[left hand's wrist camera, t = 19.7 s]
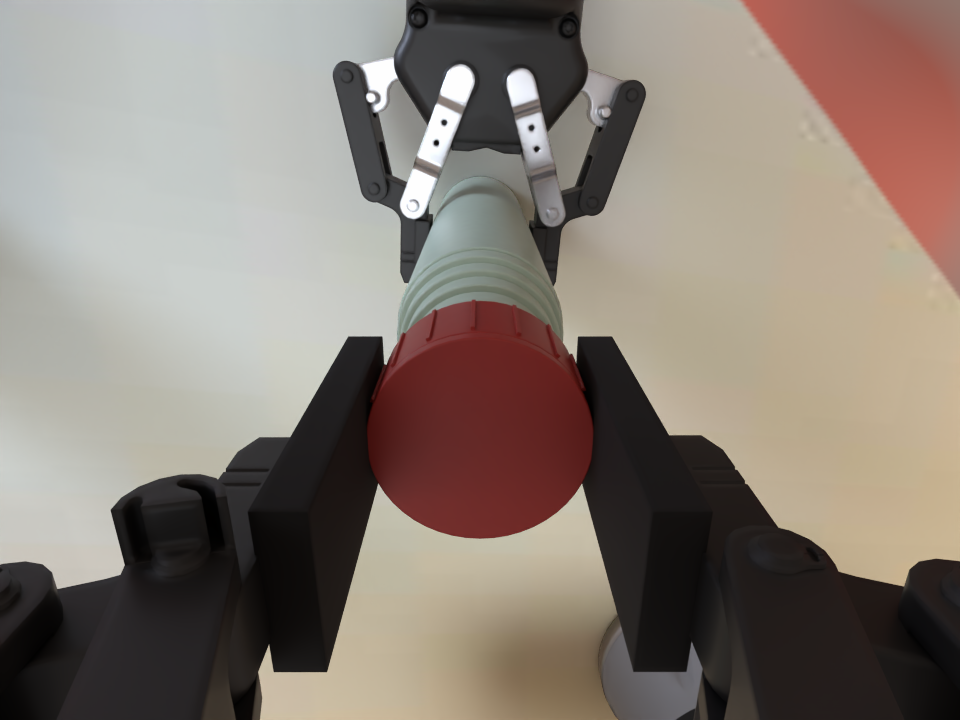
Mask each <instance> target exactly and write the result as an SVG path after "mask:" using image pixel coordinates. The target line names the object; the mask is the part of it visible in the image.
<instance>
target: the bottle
mask: <svg viewBox="0 0 960 720" xmlns="http://www.w3.org/2000/svg"><path fill="white" fill-rule="evenodd" d="M472 300H476V301H492V302H498V303H504V304H508V305H511V306H512V305H516V306H517V308H520V309H522V310H524V311H526V312H528V313H530V314H532V315H534V316H535V317H537V318H538V319H540V320H541V321H543V322H544V323H545V324H546V325H547V324H549V325H551V328H552V330H553V331H554V332H555V334H556V335H557V336H558V337H559V338H560V339H561V341H562V342H563V321H562V311H561V307H560V303H559V300H558V297H557V295H556V292H555V290H554V287H553V285H552V283H551V280H550V278H549V275H548V273H547V270H546V268H545V266H544V263H543V261H542V258H541V256H540V253H539V251H538V248H537V246H536V244H535V241H534V239H533V236H532V234H531V231H530V229H529V227H528V224H527V222H526V219H525V217H524V214H523V212H522V209H521V207H520V205H519V202H518V200H517V198H516V196H515V195H514V193H513V192H512V191H511V190H510V189H509V188H508V187H507V186H506V185H505V184H503V183H502V182H500V181H498V180H496V179H493V178H489V177H471V178H468V179H465V180H463V181H461V182H459V183H457V184H456V185H455V186H453V187H452V188H451V189H450V190H449V191H448V193H447V194H446V195H445V197H444V199H443V201H442V203H441V205H440V208H439V210H438V213H437V215H436V218H435V220H434V222H433V225H432V227H431V230H430V232H429V235H428V237H427V240H426V242H425V244H424V247H423V249H422V252H421V254H420V257H419V259H418V261H417V264H416V266H415V269H414V271H413V274H412V276H411V278H410V281H409V283H408V286H407V288H406V291H405V293H404V296H403V298H402V301H401V304H400V309H399V313H398V328H397V340H398V342H399V339H400V336H401V334H402V333H403V332H404V333H406V332H407V331H408V330H409V329H410V328H411V327H412V326H413V325H414V324H415V323H417V322H418V321H419V320H421V319H422V318H424V317H425V316H427V315H428V314H430V313H432V310H434V309H436V310H438V309H441V308H443V307H446V306H449V305H453V304H457V303H462V302H468V301H472Z"/></svg>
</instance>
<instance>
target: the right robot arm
mask: <svg viewBox="0 0 960 720" xmlns="http://www.w3.org/2000/svg"><path fill="white" fill-rule="evenodd" d="M582 10H583V0H407V3H406V26H405V30H404V33H403V36H402V39H401V41H400V43H399V44H398V46H397V48H396V51H395V54H394V57H389V58H384V59H379V60H375V61H370V62H365V63H360V64H355V63H353V62H350V61H342V62H340V63H338V64H337V65H336V66H335V68H334V71H333V80H334V84H335V88H336V92H337V96H338V100H339V104H340V108H341V112H342V116H343V120H344V124H345V128H346V132H347V136H348V140H349V144H350V148H351V152H352V156H353V160H354V164H355V168H356V172H357V176H358V180H359V184H360V188H361V192H362V194H363V196H364V197H365V198H366V199H367V200H368V201H370V202H378V203H380V204H383V205H385V206H387V207H390V208H391V209H393V210H394V211H395V212H396V213H397V214H398V215H399V217H400V221H401V263H400V273H401V275H402V278H403V281H404V283H409V281H410V278H411V276H412V274H413V271H414V269H415V266H416V264H417V261H418V259H419V257H420V254H421V252H422V249H423V247H424V244H425V242H426V240H427V237H428V235H429V232H430V230H431V227H432V225H433V214H429V203H430V200H431V197H432V195H433V192H434V190H435V187H436V185H437V182H438V180H439V177H440V175H441V172H442V170H443V167H444V165H445V162H446V160H447V157H448V155H449V152H450V150H451V148H452V150H456V151H472V150H477V149H481V148H490V149H493V150H496V151H498V152H501V153H506V154H521V157H522V161H523V165H524V169H525V172H526V175H527V179H528V182H529V186H530V190H531V194H532V198H533V201H534V205H535V214H534V221H531V220H530V221H529V229H530V231H531V234H532V236H533V239H534V241H535V244H536V246H537V248H538V251H539V253H540V256H541V258H542V261H543V263H544V266H545V268H546V270H547V273H548V275H549V278H550V280H551V283H552V285H553V286H554V284H555V282H556V275H557V265H558V256H559V246H560V236H561V231H562V228H563V227H564V225H565V224H566V223H567V222H568V221H570V220H572V219H575V218H578V217H582V216H585V215H589V216H594V215H597V214H599V213H600V212H601V211H602V210H603V209H604V207H605V204H606V202H607V199H608V196H609V194H610V191H611V188H612V186H613V183H614V180H615V178H616V175H617V172H618V170H619V167H620V164H621V162H622V159H623V156H624V154H625V151H626V148H627V146H628V143H629V140H630V138H631V135H632V132H633V130H634V127H635V124H636V122H637V119H638V116H639V114H640V111H641V108H642V106H643V103H644V100H645V97H646V91H645V88H644V86H643V84H642V83H640V82H639V81H636V80H626V81H622V80H619V79H616V78H613V77H610V76H607V75H604V74H601V73H598V72H596V71H593V70H590V69H588V64H587V60H586V57H585V55H584V52H583V49H582V45H581V38H580V30H581V19H582ZM398 80H399V81H400V82H401V84H402V85H403V87H404V89H405V90H406V92H407V93H408V95H409V97H410V98H411V100H412V101H413V103H414V104H415V106H416V108H417V109H418V111H419V112H420V114H421V116H422V117H423V119H424V120H425V122H426V124H427V125H428V127H427V130H426V132H425V135H424V138H423V140H422V143H421V146H420V148H419V151H418V154H417V157H416V159H415V163H414V166H413V169H412V172H411V175H410V177H409V180H408V182H405V181H403V180H401V179H399V178H396V177H394V176H392V171H391V167H390V163H389V158H388V154H387V150H386V145H385V141H384V136H383V132H382V128H381V123H380V119H379V115H378V112H382V111H384V110H385V109H386V108H387V107H388V105H389V102H390V95H389V94H390V88H391V86H392V85H393V84H394V83H395V82H396V81H398ZM580 92H581V93H583V94H584V95H585V97H586V98H587V102H588V108H587V118H588V120H589V121H590V123H592V124H593V125H595V126H596V129H595V131H594V134H593V137H592V140H591V143H590V146H589V148H588V151H587V154H586V157H585V160H584V163H583V165H582V168H581V171H580V174H579V177H578V179H577V182H576V185H575V187H573V188H569V189H566V190H563V191H560V187H559V183H558V179H557V174H556V167H555V162H554V158H553V154H552V150H551V146H550V142H549V138H548V134H547V132H548V131H549V130H550V129H551V127H552V126H553V125H554V124H555V122H556V121H557V120H558V119H559V117H560V116H561V115H562V114H563V112H564V111H565V110H566V109H567V107H568V106H569V105H570V104H571V102H572V101H573V100H574V99H575V97H576V96H577V95H578V94H579V93H580Z"/></svg>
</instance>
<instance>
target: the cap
mask: <svg viewBox="0 0 960 720" xmlns="http://www.w3.org/2000/svg"><path fill="white" fill-rule="evenodd" d="M585 390H586V389H585V386H584V383H583V381H582V378H581V375H580V373H579V370H578V367H577V365H576V362H575V359H574V357H573V355H572V354H570V355H569V353H568V350H567V349H566V347H565V346H564V344H563V342H562V341H561V339H560V338H559V337H558V336H557V335H556V334H555V332H554V331H553V330H552V328H551V325H549V324H547V325H546V324H545V323H544V322H543V321H541V320H540V319H538V318H537V317H535V316H534V315H532V314H530V313H528V312H526V311H524V310H522V309H520V308H517V306H516V305H512V306H511V305H508V304H504V303H498V302H492V301H476V300H472V301H468V302H462V303H457V304H453V305H449V306H446V307H443V308H441V309H438V310H436V309H434V310H432V313H430V314H428V315H427V316H425V317H424V318H422V319H421V320H419V321H418V322H417V323H415V324H414V325H413V326H412V327H411V328H410V329H409V330H408V331H407V332H406V333H404V332H403V333H402V334H401V336H400V339H399V342H398V343H397V345H396V346H395V348H394V349H393V351H392V354H391V356H390V358H389V360H388V363H387V365H385V364H384V366H383V368H382V371H381V374H380V376H379V379H378V382H377V384H376V387H375V390H374V392H373V395H372V397H371V400H370V402H371V403H373V404H372V407H371V410H370V413H369V416H368V422H367V438H368V451H369V462H370V465H371V469H372V471H373V473H374V475H375V477H376V480H377V482H378V483H379V485H380V486H381V488H382V490H383V491H384V493H385V494H386V495H387V496H388V497H389V499H390V500H391V501H392V502H393V503H394V504H395V505H396V506H397V507H398V508H399V509H400V510H401V511H402V512H404V513H405V514H406V515H408V516H409V517H411V518H412V519H413V520H415V521H417V522H419V523H421V524H422V525H424V526H426V527H428V528H431V529H433V530H436V531H438V532H442V533H445V534H449V535H452V536H458V537H464V538H479V539H481V538H496V537H502V536H508V535H512V534H515V533H519V532H522V531H525V530H527V529H530V528H532V527H534V526H536V525H538V524H540V523H542V522H544V521H545V520H547V519H548V518H550V517H551V516H553V515H554V514H555V513H557V512H558V511H559V510H560V509H561V508H562V507H563V506H565V505H566V504H567V503H568V501H569V500H570V499H571V498H572V497H573V496H574V494H575V493H576V492H577V490H578V489H579V487H580V486H581V484H582V482H583V480H584V478H585V476H586V474H587V472H588V470H589V466H590V463H591V457H592V444H593V429H594V428H593V419H592V415H591V412H590V409H589V405H588V403H587V400H586V397H585V394H584V392H583V391H585Z"/></svg>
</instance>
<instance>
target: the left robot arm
mask: <svg viewBox="0 0 960 720" xmlns="http://www.w3.org/2000/svg"><path fill="white" fill-rule="evenodd" d="M576 365H577V367H578V370H579V373H580V375H581V378H582V381H583V383H584V386H585V389H586V390H585V391H583V392H584V394H585V397H586V400H587V403H588V405H589V409H590V412H591V415H592V419H593V428H594V429H593V444H592V457H591V463H590V466H589V470H588V472H587V474H586V476H585V478H584V480H583V482H582V484H583V488H584V492H585V495H586V499H587V503H588V507H589V510H590V514H591V518H592V521H593V525H594V529H595V532H596V536H597V540H598V543H599V547H600V551H601V554H602V558H603V562H604V565H605V569H606V573H607V577H608V580H609V584H610V588H611V591H612V595H613V599H614V602H615V606H616V610H617V613H618V616H617V617H616V619H615V620H614V621H613V622H612V624H611V625H610V626H609V628H608V630H607V632H606V633H605V635H604V638H603V640H602V643H601V646H600V650H599V658H598V665H599V672H600V677H601V682H602V686H603V691H604V694H605V697H606V699H607V701H608V703H609V705H610V708H611V709H612V711H613V713H614V715H615V716H616V717H617V718H618V720H960V561H952V560H943V559H932V560H926V561H920V562H918V563H917V564H916V565H914V566H913V567H912V568H911V569H910V570H909V573H908V576H907V579H906V583H905V586H904V587H903V586H898V585H893V584H889V583H884V582H879V581H874V580H870V579H865V578H860V577H856V576H852V575H848V574H845V573H841V572H838V570H837V567H836V565H835V564H834V562H833V561H832V559H831V558H830V557H829V555H828V554H827V553H826V551H824V550H823V549H822V548H820V547H819V546H818V545H816V544H815V543H814V542H812V541H811V540H809V539H807V538H805V537H803V536H801V535H798V534H796V533H794V532H792V531H789V530H785V529H781V528H778V527H777V525H776V524H775V522H774V521H773V520H772V518H771V517H770V515H769V514H768V513H767V511H766V510H765V508H764V507H763V506H762V504H761V503H760V501H759V500H758V498H757V497H756V496H755V494H754V493H753V491H752V490H751V489H750V487H749V486H748V484H745V480H744V479H743V477H742V476H741V475H740V473H739V472H738V470H735V466H734V465H733V463H732V462H731V460H730V459H729V458H728V456H727V455H726V453H725V452H724V451H723V450H722V449H721V448H719V447H718V446H716V445H715V444H713V443H712V442H710V441H709V440H707V439H706V438H704V437H703V436H701V435H668V433H667V431H666V429H665V428H664V426H663V424H662V422H661V421H660V419H659V417H658V416H657V414H656V412H655V410H654V409H653V407H652V405H651V403H650V402H649V400H648V398H647V396H646V395H645V393H644V391H643V390H642V388H641V386H640V384H639V383H638V381H637V379H636V377H635V376H634V374H633V372H632V370H631V369H630V367H629V365H628V364H627V362H626V360H625V358H624V357H623V355H622V353H621V351H620V350H619V348H618V346H617V344H616V343H615V341H614V339H613V338H612V337H578V346H577V362H576ZM383 366H384V355H383V339H382V337H348V338H347V340H346V342H345V343H344V345H343V347H342V349H341V350H340V352H339V354H338V356H337V357H336V359H335V361H334V363H333V364H332V366H331V368H330V369H329V371H328V373H327V375H326V376H325V378H324V380H323V382H322V383H321V385H320V387H319V389H318V390H317V392H316V394H315V395H314V397H313V399H312V401H311V402H310V404H309V406H308V408H307V409H306V411H305V413H304V415H303V416H302V418H301V420H300V421H299V423H298V425H297V427H296V428H295V430H294V432H293V434H292V435H291V437H259V438H258V439H256V440H255V441H253V442H252V443H250V444H249V445H247V446H246V447H244V448H243V449H241V450H240V451H238V452H237V454H236V455H235V457H234V458H233V460H232V461H231V462H230V464H229V465H228V467H227V468H226V472H223V474H222V475H221V477H220V478H219V479H216V478H213V477H209V476H205V475H201V474H190V475H177V476H172V477H167V478H162V479H158V480H155V481H153V482H150V483H147V484H145V485H142V486H140V487H138V488H136V489H134V490H133V491H131V492H130V493H128V494H127V495H125V496H123V497H122V498H121V499H120V500H119V501H118V502H117V503H116V504H115V506H114V507H113V508H112V509H111V513H112V517H113V521H114V525H115V529H116V533H117V536H118V540H119V544H120V548H121V552H122V556H123V559H124V563H125V566H124V569H123V571H122V573H121V575H119V576H115V577H111V578H108V579H104V580H99V581H94V582H90V583H85V584H80V585H75V586H71V587H66V588H61V589H57V587H56V584H55V581H54V578H53V574H52V572H51V571H50V570H48V569H47V568H46V567H45V566H44V565H43V564H37V563H31V562H17V563H7V564H1V565H0V720H260V713H261V704H262V693H261V686H260V680H259V675H258V671H259V668H260V666H261V663H262V661H263V658H264V655H265V653H266V650H267V648H268V645H269V646H270V652H271V658H272V664H273V670H274V672H327V670H328V666H329V663H330V659H331V655H332V652H333V648H334V644H335V641H336V637H337V633H338V630H339V626H340V622H341V619H342V615H343V611H344V608H345V604H346V600H347V596H348V593H349V589H350V585H351V582H352V578H353V574H354V571H355V567H356V563H357V560H358V556H359V552H360V549H361V545H362V541H363V537H364V534H365V530H366V526H367V523H368V519H369V515H370V512H371V508H372V504H373V501H374V497H375V493H376V490H377V486H378V482H377V480H376V477H375V475H374V473H373V471H372V469H371V465H370V462H369V451H368V438H367V422H368V416H369V413H370V410H371V407H372V404H373V403H371V402H370V400H371V397H372V395H373V392H374V390H375V387H376V384H377V382H378V379H379V376H380V374H381V371H382V368H383Z"/></svg>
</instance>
